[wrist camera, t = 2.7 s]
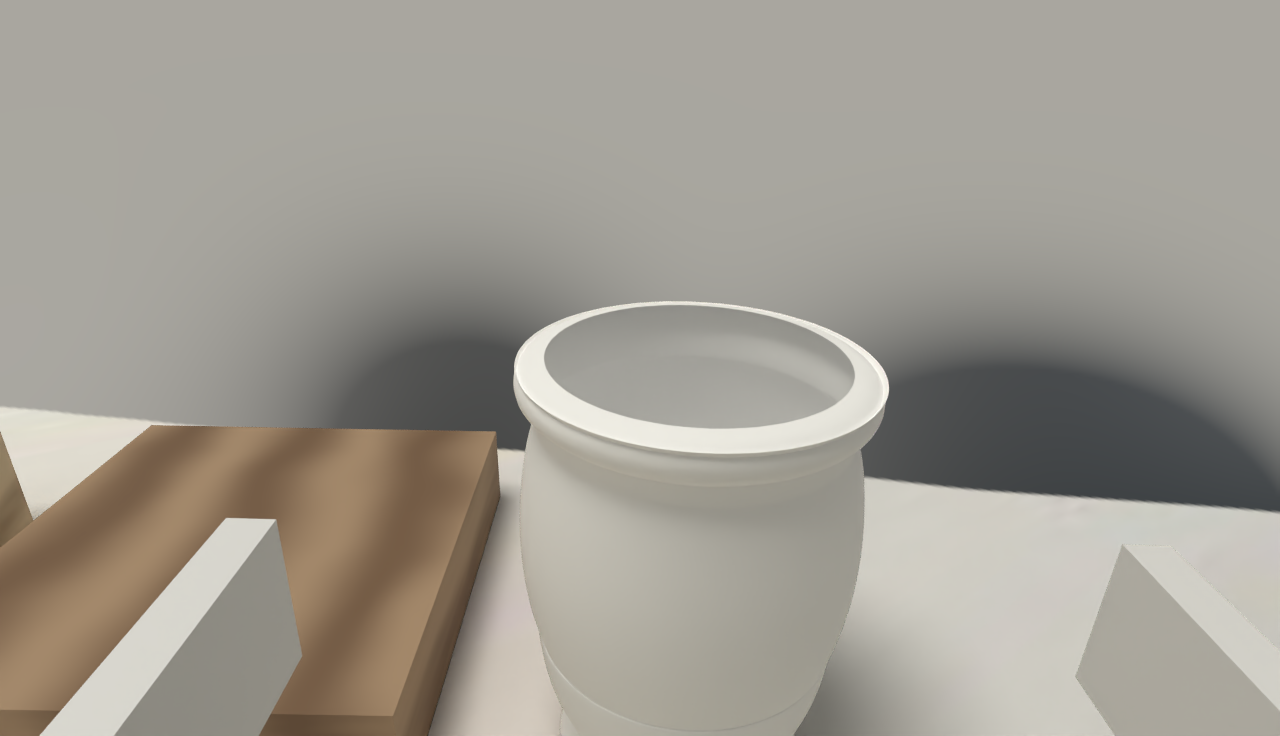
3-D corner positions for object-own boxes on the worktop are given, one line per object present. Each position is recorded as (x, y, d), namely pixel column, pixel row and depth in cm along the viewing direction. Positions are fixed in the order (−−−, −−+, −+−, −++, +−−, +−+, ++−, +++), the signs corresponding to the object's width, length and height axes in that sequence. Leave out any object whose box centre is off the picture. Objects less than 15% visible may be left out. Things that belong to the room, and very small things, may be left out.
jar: (867, 710, 29) (939, 345, 23) (734, 954, 21) (788, 502, 15) (640, 595, 34) (648, 277, 28) (469, 755, 27) (429, 366, 21)
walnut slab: (500, 495, 41) (495, 431, 40) (406, 803, 25) (392, 716, 23) (169, 489, 41) (151, 425, 40) (-144, 795, 25) (-196, 706, 23)
